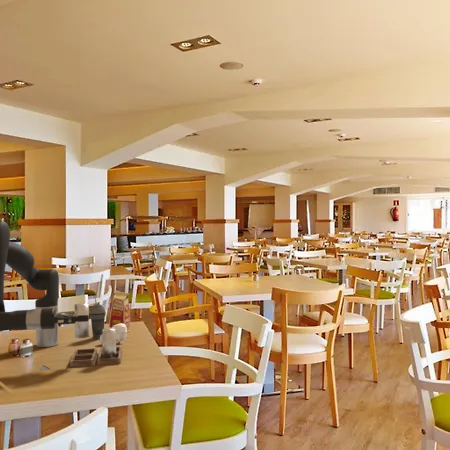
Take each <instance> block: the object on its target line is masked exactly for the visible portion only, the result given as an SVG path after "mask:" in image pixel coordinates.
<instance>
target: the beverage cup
mask: <svg viewBox="0 0 450 450" xmlns="http://www.w3.org/2000/svg"><path fill="white" fill-rule="evenodd" d="M94 302H95V304H94V305H92V306H91V308H90V309H89V313H90V318H89V319H90V323H91V331H92V338H93V340H100V336H101V335H102V329H104V328H105V318H106V310H105V307H104V306H103V304H99V303H97V297H96V294H94Z"/></svg>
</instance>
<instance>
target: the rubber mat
mask: <svg viewBox="0 0 450 450" xmlns="http://www.w3.org/2000/svg"><path fill="white" fill-rule="evenodd" d="M46 370H50V367H48V366H45V365H44V364H42V366H41V367H40V368H39V371H46Z"/></svg>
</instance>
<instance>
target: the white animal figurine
mask: <svg viewBox="0 0 450 450" xmlns="http://www.w3.org/2000/svg"><path fill="white" fill-rule="evenodd" d="M112 328H116V342H119V345H123V344H124V343H125V342H126V339H127V334H128V332H127V327H126V325H125V324H123V323H120V324H116V325H115V326H114V327H112ZM120 337H121V338H120ZM99 342H100V343H101V344H102V335H101V336H100V339H99Z"/></svg>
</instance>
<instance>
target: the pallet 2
mask: <svg viewBox="0 0 450 450" xmlns="http://www.w3.org/2000/svg"><path fill="white" fill-rule="evenodd" d="M122 348H123V346H116V358H104V359H103V350H102V347H100V350H99V352H98V355H97V358H96V360H97V363H96V366H107V365H109V366H110V365H121V364H122V358H123V357H122V356H123V351H122V350H123V349H122Z"/></svg>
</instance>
